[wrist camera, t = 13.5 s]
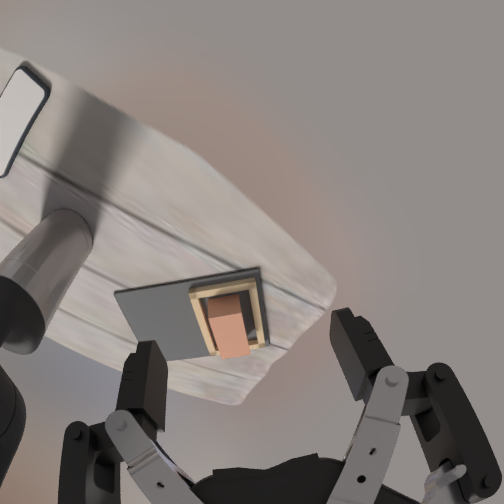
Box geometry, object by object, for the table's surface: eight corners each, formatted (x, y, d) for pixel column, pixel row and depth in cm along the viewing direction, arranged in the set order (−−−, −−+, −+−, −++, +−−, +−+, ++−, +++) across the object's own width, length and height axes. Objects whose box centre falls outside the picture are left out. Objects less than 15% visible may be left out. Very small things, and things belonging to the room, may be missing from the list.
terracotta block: (207, 299, 45) (208, 318, 41) (238, 294, 45) (241, 312, 41) (220, 340, 50) (221, 359, 46) (247, 335, 50) (250, 354, 47)
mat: (150, 361, 52) (150, 367, 51) (114, 292, 43) (111, 298, 41) (268, 344, 53) (270, 350, 52) (258, 267, 44) (259, 273, 42)
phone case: (24, 63, 23) (-21, 149, 26) (18, 62, 21) (-26, 152, 25) (56, 91, 26) (7, 179, 30) (50, 91, 25) (2, 182, 29)
